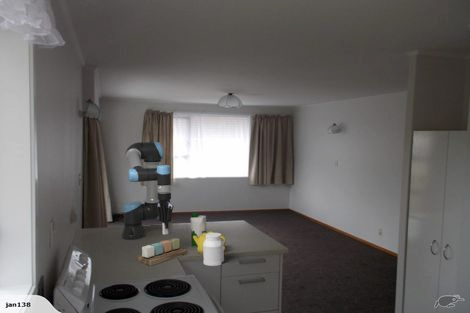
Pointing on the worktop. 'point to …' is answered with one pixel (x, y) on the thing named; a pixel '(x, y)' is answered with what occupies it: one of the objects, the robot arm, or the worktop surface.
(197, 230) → the milk carton
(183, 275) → the worktop surface
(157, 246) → the key teal
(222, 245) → the jar
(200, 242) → the teapot
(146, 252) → the key cream
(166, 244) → the key terracotta
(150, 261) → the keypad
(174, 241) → the key olive
